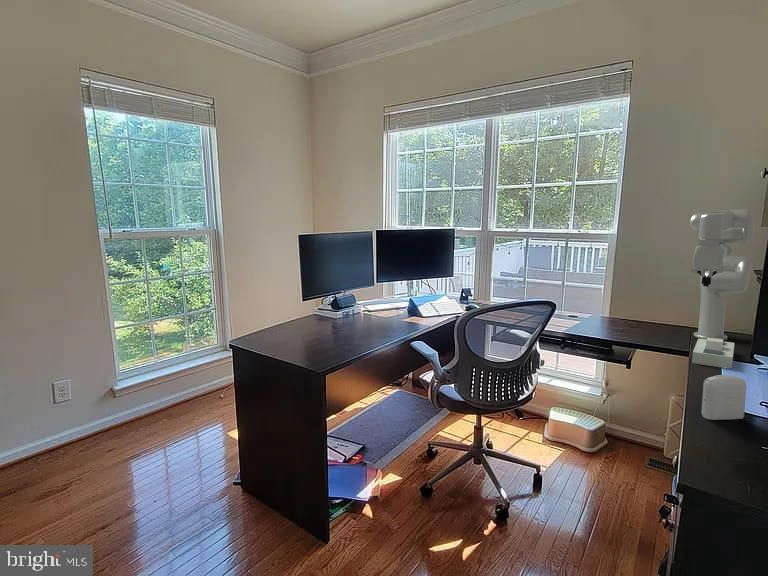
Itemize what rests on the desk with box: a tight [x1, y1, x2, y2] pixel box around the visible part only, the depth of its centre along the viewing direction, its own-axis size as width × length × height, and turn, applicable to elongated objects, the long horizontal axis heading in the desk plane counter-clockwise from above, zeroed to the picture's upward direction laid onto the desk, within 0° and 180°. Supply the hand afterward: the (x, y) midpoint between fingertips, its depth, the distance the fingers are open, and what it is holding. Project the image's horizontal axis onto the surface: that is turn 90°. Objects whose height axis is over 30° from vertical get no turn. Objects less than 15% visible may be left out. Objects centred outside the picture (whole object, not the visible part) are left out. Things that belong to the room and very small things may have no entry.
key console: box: [691, 338, 735, 369], centre depth 169 cm, size 24×12×4 cm, turn 139°
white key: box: [706, 338, 723, 348], centre depth 169 cm, size 5×5×4 cm
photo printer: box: [700, 374, 747, 421], centre depth 118 cm, size 10×4×12 cm, turn 90°
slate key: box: [704, 346, 722, 355], centre depth 163 cm, size 5×5×4 cm
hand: (705, 286), depth 180 cm, fingers closed
